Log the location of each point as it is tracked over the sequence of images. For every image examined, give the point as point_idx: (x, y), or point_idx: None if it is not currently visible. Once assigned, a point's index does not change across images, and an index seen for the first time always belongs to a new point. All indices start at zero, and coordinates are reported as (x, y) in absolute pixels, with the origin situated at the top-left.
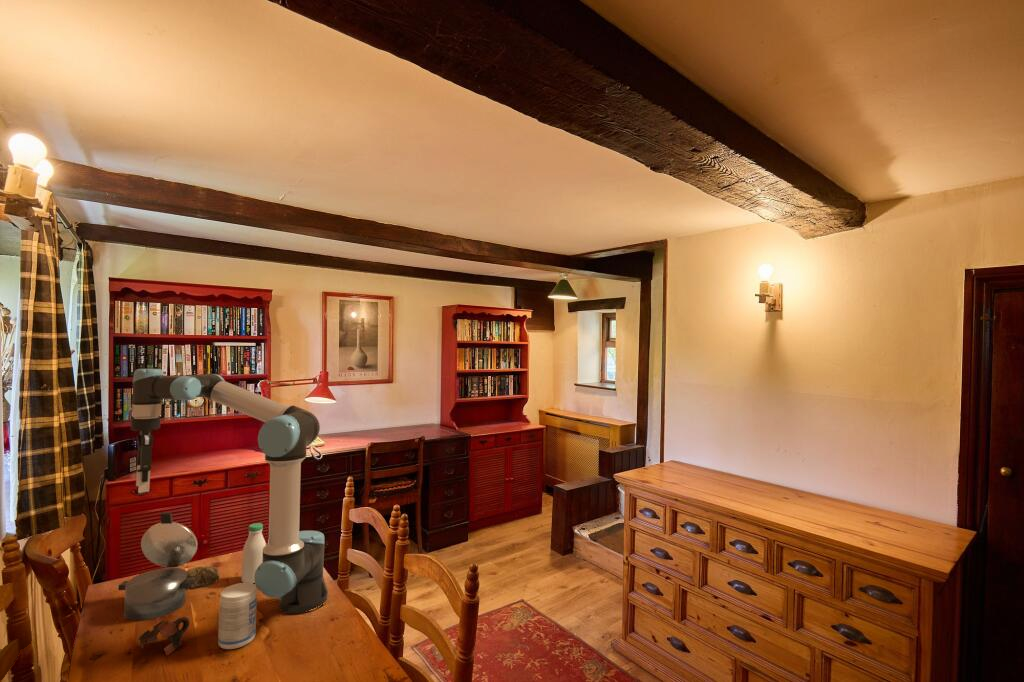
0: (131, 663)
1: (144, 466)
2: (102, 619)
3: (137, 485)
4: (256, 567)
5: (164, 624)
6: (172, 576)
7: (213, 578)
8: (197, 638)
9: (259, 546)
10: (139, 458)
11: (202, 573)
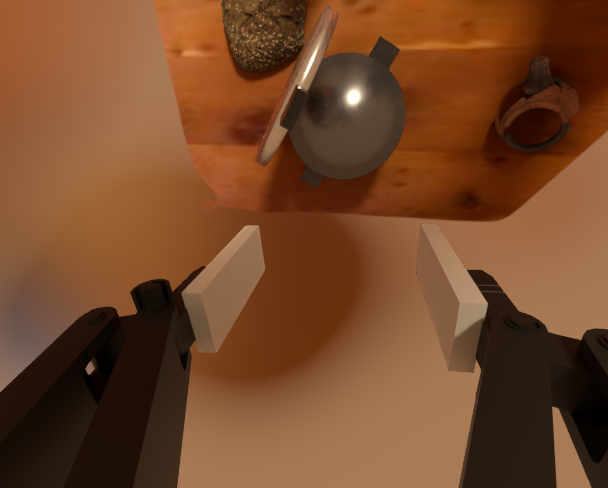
0: (541, 157)
1: (210, 305)
2: (342, 196)
3: (263, 266)
4: None
5: (563, 108)
6: (351, 87)
7: None
8: (551, 43)
9: None
10: (184, 399)
11: (280, 14)
